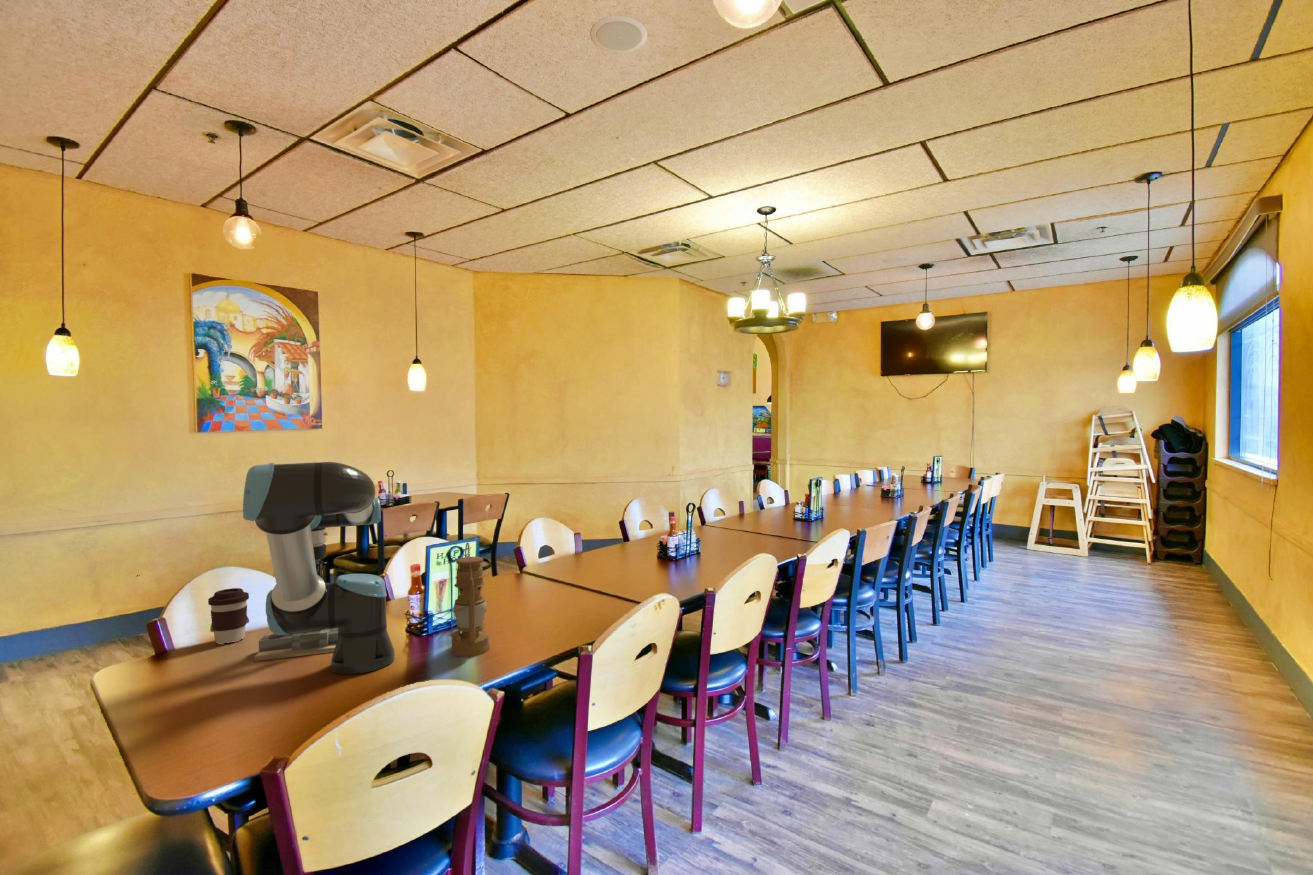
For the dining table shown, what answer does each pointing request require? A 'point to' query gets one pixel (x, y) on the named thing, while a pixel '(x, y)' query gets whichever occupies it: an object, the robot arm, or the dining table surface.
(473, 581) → the lantern
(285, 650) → the chain bed
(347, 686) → the dining table surface
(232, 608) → the coffee cup
